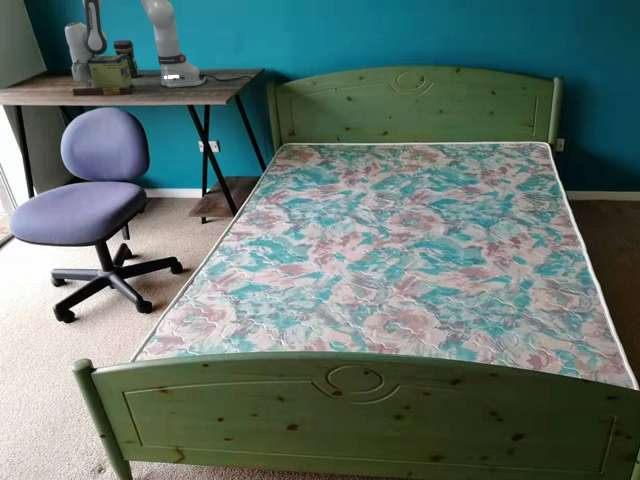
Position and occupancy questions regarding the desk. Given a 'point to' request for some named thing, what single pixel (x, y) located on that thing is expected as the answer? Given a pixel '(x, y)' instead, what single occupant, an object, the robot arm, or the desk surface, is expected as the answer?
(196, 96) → the desk surface
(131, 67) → the coffee jar
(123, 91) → the guide rail
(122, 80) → the protein box
